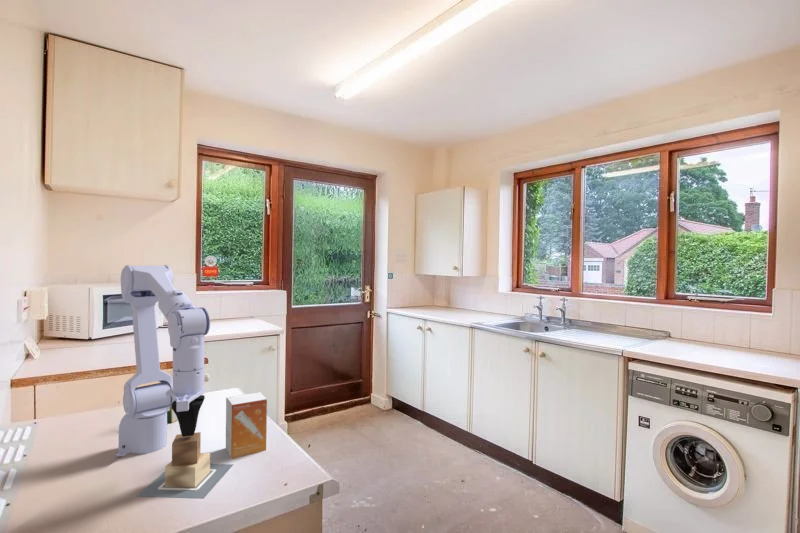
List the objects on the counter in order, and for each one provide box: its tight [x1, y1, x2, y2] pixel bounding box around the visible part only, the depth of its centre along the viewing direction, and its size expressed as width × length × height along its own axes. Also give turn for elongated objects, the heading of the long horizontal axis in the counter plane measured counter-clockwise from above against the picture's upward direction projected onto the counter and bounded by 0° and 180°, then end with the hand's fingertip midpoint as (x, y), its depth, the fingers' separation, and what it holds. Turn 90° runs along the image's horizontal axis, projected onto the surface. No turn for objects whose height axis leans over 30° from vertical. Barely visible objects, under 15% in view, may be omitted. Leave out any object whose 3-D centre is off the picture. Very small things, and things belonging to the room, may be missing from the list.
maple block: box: [164, 452, 211, 488], centre depth 85 cm, size 6×6×4 cm
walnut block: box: [171, 431, 201, 467], centre depth 85 cm, size 4×4×4 cm
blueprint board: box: [135, 463, 234, 499], centre depth 85 cm, size 13×13×1 cm
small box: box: [225, 391, 268, 459], centre depth 98 cm, size 8×6×13 cm
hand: (188, 434), depth 85 cm, fingers closed
